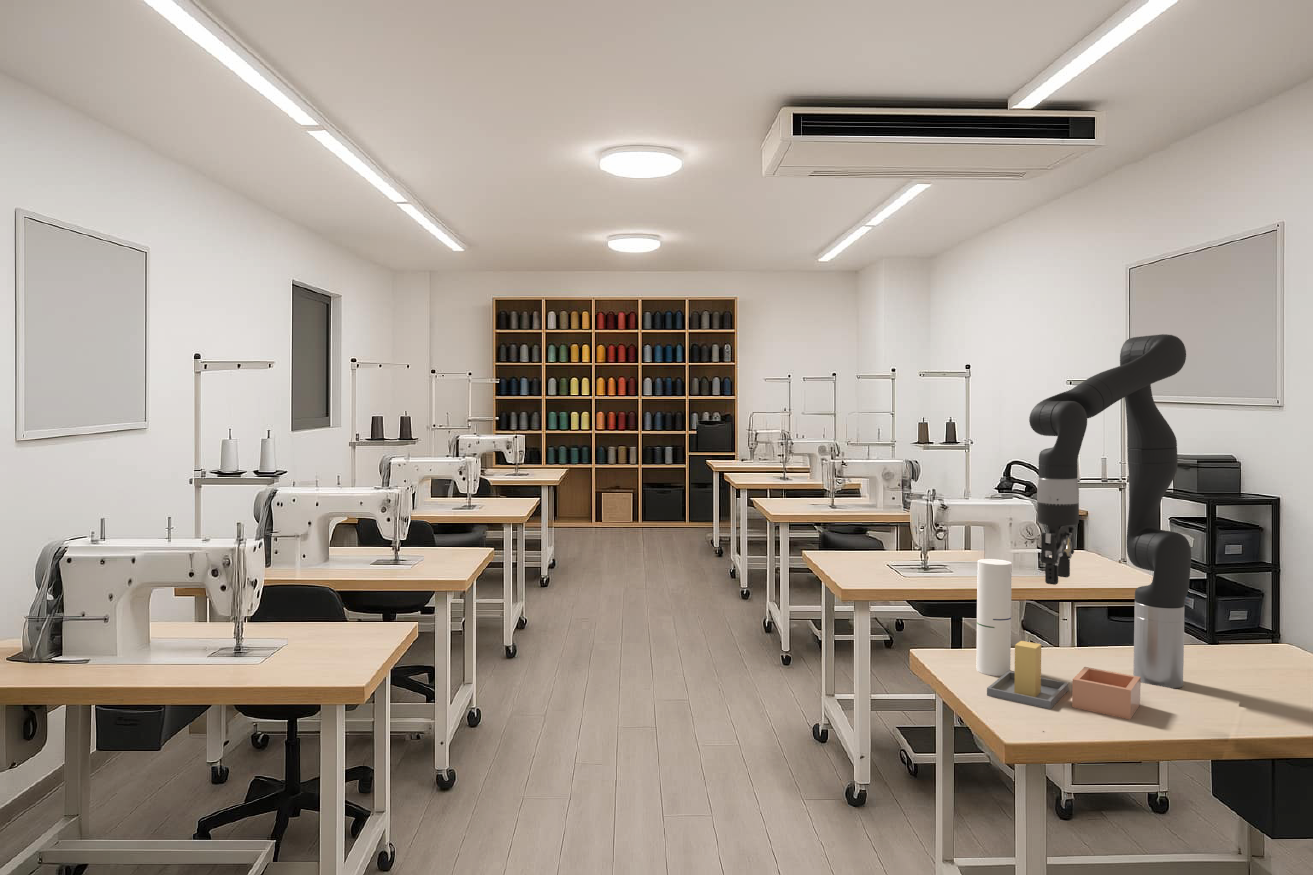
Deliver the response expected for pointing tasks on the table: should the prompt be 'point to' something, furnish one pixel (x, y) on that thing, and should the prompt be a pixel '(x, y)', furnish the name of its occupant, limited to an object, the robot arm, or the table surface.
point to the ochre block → (1027, 668)
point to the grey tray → (1044, 699)
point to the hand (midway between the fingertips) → (1057, 580)
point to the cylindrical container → (993, 616)
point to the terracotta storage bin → (1106, 692)
